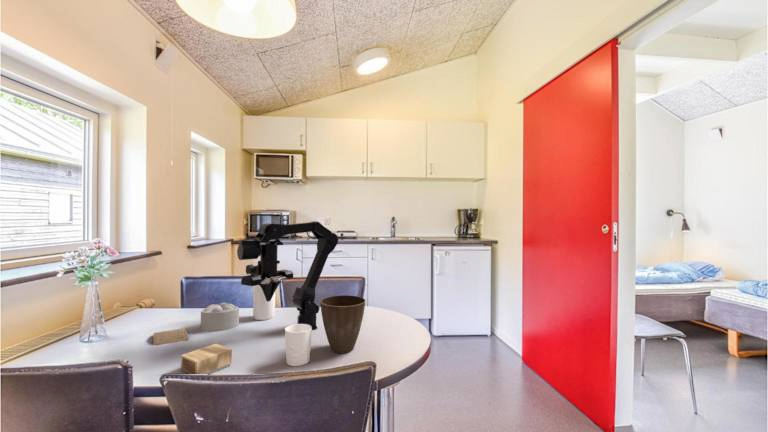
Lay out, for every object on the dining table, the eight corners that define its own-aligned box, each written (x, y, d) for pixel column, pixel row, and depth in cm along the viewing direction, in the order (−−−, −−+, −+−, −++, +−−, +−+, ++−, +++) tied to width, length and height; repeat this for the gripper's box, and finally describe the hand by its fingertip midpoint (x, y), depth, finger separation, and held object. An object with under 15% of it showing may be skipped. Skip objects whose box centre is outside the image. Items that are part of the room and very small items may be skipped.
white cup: (287, 369, 90) (287, 334, 90) (282, 358, 97) (282, 325, 97) (314, 364, 94) (314, 330, 94) (307, 353, 101) (308, 322, 101)
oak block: (215, 343, 98) (180, 355, 89) (231, 349, 93) (196, 362, 85) (215, 356, 98) (180, 369, 89) (231, 362, 93) (196, 377, 85)
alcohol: (249, 317, 138) (250, 248, 138) (269, 313, 144) (270, 247, 144) (257, 322, 131) (258, 249, 132) (278, 317, 137) (279, 248, 138)
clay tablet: (188, 342, 111) (188, 334, 111) (152, 349, 105) (153, 340, 105) (185, 330, 123) (185, 323, 123) (153, 335, 117) (153, 328, 117)
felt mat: (210, 358, 97) (210, 357, 97) (229, 366, 92) (229, 365, 92) (182, 368, 90) (182, 367, 90) (202, 377, 85) (202, 376, 85)
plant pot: (325, 339, 113) (325, 294, 113) (366, 340, 113) (367, 295, 113) (314, 357, 98) (315, 305, 98) (362, 358, 98) (363, 306, 98)
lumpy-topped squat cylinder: (207, 323, 130) (208, 302, 130) (241, 321, 132) (242, 300, 132) (197, 332, 119) (198, 309, 120) (234, 330, 122) (235, 307, 122)
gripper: (274, 254, 127) (274, 293, 127) (231, 258, 111) (230, 303, 111) (294, 256, 122) (294, 297, 121) (252, 261, 106) (251, 308, 105)
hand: (268, 301), depth 115 cm, fingers closed
